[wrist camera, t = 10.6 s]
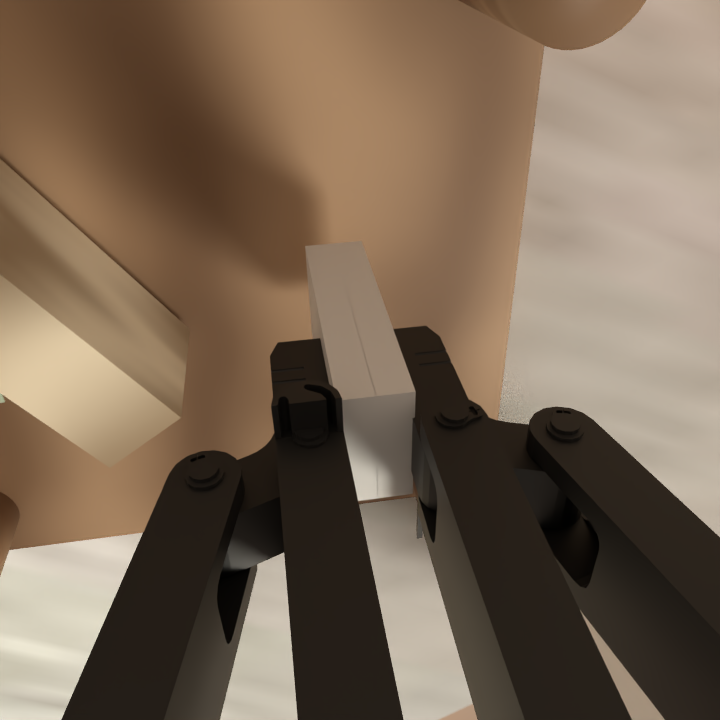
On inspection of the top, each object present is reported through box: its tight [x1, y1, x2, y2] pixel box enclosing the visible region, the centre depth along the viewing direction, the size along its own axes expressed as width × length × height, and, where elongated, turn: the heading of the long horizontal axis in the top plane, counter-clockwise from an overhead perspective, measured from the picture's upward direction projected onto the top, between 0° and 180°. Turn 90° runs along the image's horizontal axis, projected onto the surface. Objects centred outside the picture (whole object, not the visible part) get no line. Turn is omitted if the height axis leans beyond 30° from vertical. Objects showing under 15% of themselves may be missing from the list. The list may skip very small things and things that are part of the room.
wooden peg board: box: [0, 0, 646, 575], centre depth 17 cm, size 20×20×8 cm
